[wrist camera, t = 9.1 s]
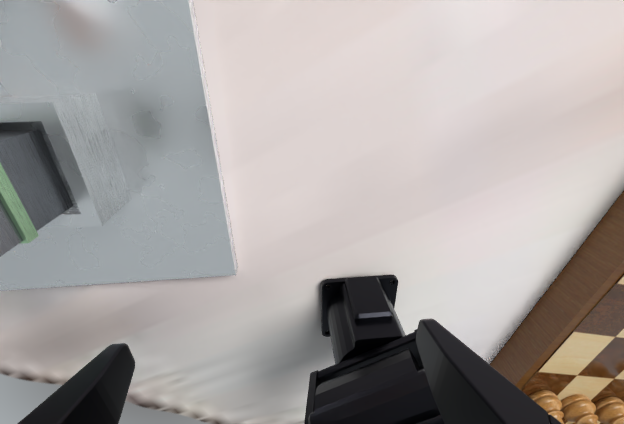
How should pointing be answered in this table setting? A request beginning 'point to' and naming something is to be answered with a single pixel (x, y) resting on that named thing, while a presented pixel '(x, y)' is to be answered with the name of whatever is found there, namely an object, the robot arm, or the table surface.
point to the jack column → (27, 187)
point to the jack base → (116, 141)
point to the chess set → (577, 334)
